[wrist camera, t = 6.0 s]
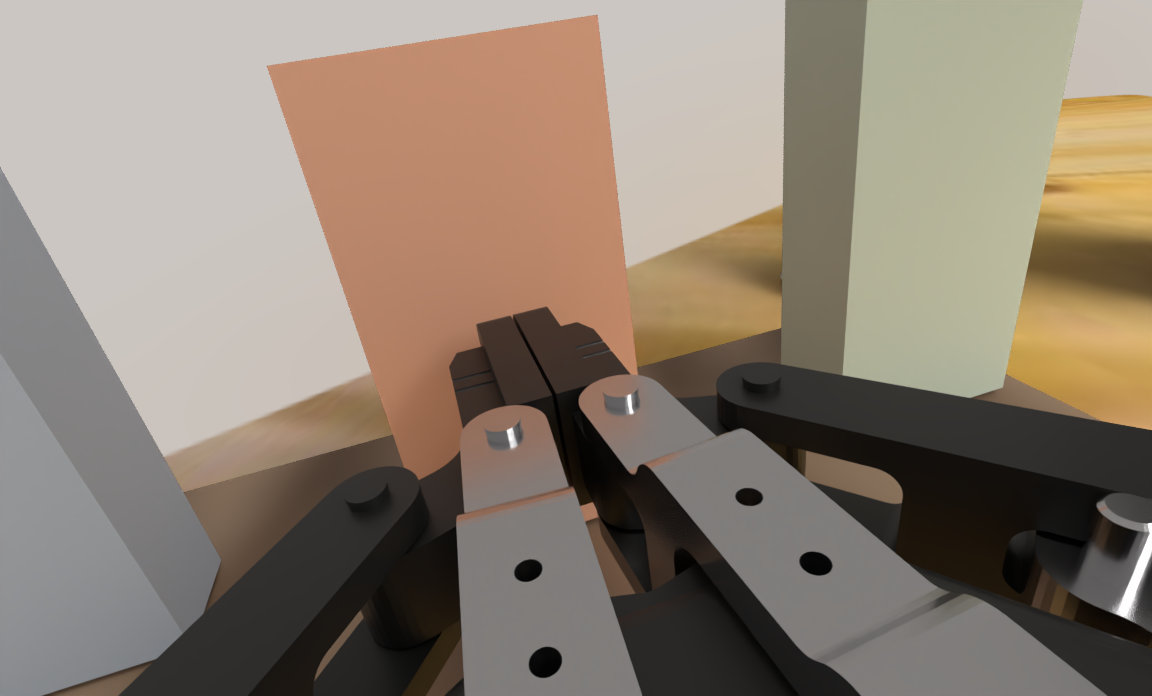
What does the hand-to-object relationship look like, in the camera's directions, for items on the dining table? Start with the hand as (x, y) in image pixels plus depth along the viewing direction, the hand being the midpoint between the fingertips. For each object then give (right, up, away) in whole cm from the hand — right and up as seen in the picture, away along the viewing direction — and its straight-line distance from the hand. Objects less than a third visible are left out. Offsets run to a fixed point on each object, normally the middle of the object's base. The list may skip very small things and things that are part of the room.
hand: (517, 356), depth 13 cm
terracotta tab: (0, -4, +5) cm, 7 cm away
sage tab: (+11, -1, +7) cm, 14 cm away
